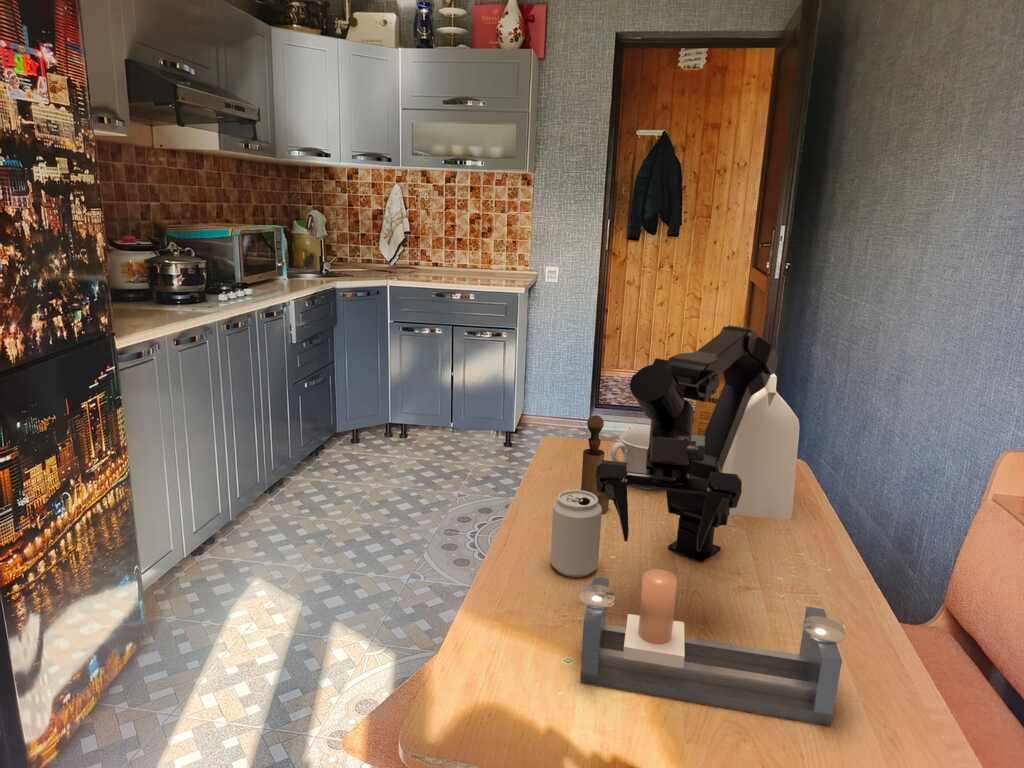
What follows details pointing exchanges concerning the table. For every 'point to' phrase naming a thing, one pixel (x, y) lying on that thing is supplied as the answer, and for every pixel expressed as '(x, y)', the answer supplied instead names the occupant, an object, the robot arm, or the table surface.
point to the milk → (765, 456)
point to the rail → (720, 667)
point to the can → (575, 533)
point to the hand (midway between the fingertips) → (661, 545)
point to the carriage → (656, 623)
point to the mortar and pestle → (593, 461)
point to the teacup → (633, 449)
